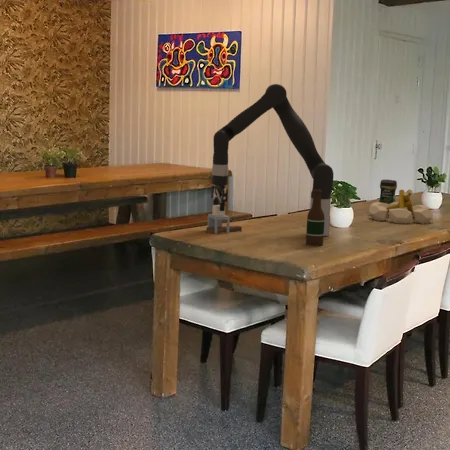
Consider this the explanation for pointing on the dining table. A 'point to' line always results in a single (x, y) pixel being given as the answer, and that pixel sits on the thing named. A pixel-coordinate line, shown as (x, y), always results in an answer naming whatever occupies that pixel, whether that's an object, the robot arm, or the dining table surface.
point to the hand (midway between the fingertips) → (218, 209)
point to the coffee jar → (387, 191)
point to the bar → (224, 229)
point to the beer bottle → (315, 221)
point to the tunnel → (218, 222)
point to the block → (217, 211)
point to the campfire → (401, 210)
